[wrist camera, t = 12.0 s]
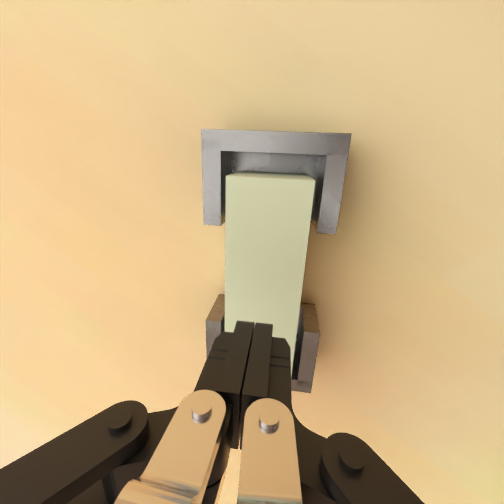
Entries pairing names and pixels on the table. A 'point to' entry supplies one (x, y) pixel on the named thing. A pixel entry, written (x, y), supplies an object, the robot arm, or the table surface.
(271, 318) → the slat
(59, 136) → the table surface
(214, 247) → the table surface
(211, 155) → the end cap
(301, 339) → the end cap
